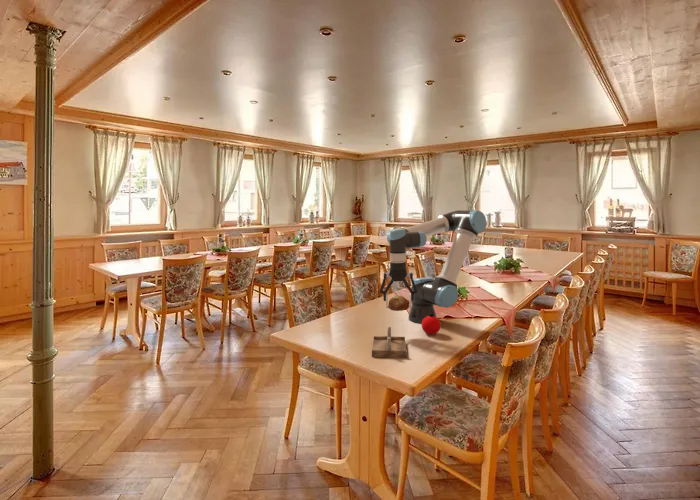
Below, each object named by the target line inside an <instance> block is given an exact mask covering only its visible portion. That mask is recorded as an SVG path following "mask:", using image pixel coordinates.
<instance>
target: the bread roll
mask: <svg viewBox="0 0 700 500" xmlns="http://www.w3.org/2000/svg"><path fill="white" fill-rule="evenodd" d="M387 309H389V310H390V311H394V312H402V311H406V310H408V309H410V307H409V299H408V298H406V297H405V296H403V295H394V296H391V297H390V299H389V300H388V308H387Z"/></svg>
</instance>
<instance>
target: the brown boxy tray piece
mask: <svg viewBox="0 0 700 500" xmlns="http://www.w3.org/2000/svg"><path fill="white" fill-rule="evenodd" d="M386 328H387V331H386V332H387V335H386V336H385V335H374V336H373V341H372V348H371V357H375V358H377V357H379V358H407V349H406V348H407V346H406V340H405V339H406V336H392V327H391V326H387V327H386Z"/></svg>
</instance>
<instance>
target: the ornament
mask: <svg viewBox="0 0 700 500" xmlns="http://www.w3.org/2000/svg"><path fill="white" fill-rule="evenodd" d="M441 325H442V324H441V321H440V319H439V318H438V317H437V318H436V317H435V316H433V314H429V316H427V317H425V318H424V319H423V321H422V323H421V329H422V331H423V332H424V333H425V334H427V335H429V336H431V335H432V336H433V335H436V334H438V333H439V331H441Z"/></svg>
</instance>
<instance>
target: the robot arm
mask: <svg viewBox="0 0 700 500" xmlns="http://www.w3.org/2000/svg"><path fill="white" fill-rule="evenodd" d="M486 218H487V217H486V215H485V214H484V213H483V212H482V210H481V211H480V210H475V209H471V210H469V209H468V210H464V209H463V210H461V209H460V210H454V211H450V212H447V213H445V214H442V215H439V216H437V218H434V219H432V220H428V221H425V222H421V223H417V224H415V225H412V226H409V227H406V228H392V229H390V231H389V232H388V233H387V235H386V240H387V243H388V244H389V261H390V263H389V272H383V279H382V282H381V286H380V290H379V293H380V294H383V302H385V309H389V308H388V305H389V300H388V296H389V295H388V291H389V290H390V288H391V286H392V284H393V283H394V282H403V283H404V285H405V287H406V289H407V290H408V291H409V293H408V295H409V297H408V298H409V299H408V301H409V309H410V310H409V313H408V320H409V321H410V322H412V323H417V324H422V321H423V319H424V318H425V317H427V316H429V314H433V316H435V317H436V318H438V316H437V312H436V310H435V307H434V306H438V307H440V308H450V307H453V305H455V303H457V300H458V298H459V291H458V290H459V289H458V288H457V287H458V283H457V282H456V281H457V279H458V277H459V274H460V273H461V272H460V271H461V269H462V266H463V264H464V261H465V260H466V256H467V254H468V252H469V249H470V247H471V244H472V243H473V241H474V240H475V239H477V237H478V235H479V234H481V233H483V232H484V231H485V230H486V229H487V223H488V221H487V219H486ZM448 232H455V234H456V235H455V237H454V239H453V242H452V245H451V247H450V249H449V252H448V254H447V257H446V260H445V262H444V264H443V266H442V268H441V271H440V273H439V275H437V276H435V278H434V277H417V278H413V277H414V274H413V272H411V271H410V272H408V271H407V263H406V261H407V249H413V248H423V247H425V245H426V244H427V240H428V239H427V237H430V236H432V235H433V236H434V235H436V234H439V233H445V234H446V233H448ZM388 277H390V278H391V279H390V280H389V283H388V284H387V285H386V287H385V284H386V281H387V278H388ZM406 277H408V278H409V279H410V282H411V285H410V284H409V283H408V281H407V280H406Z"/></svg>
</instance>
